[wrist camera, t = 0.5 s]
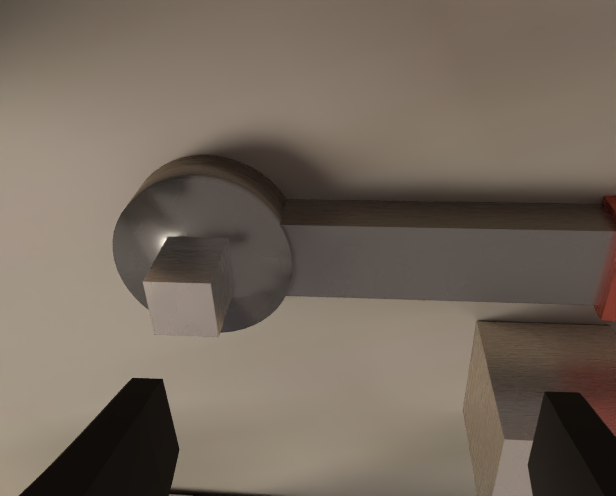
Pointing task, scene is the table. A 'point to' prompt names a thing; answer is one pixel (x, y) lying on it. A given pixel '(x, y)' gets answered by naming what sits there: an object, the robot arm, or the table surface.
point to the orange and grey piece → (345, 249)
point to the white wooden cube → (529, 392)
